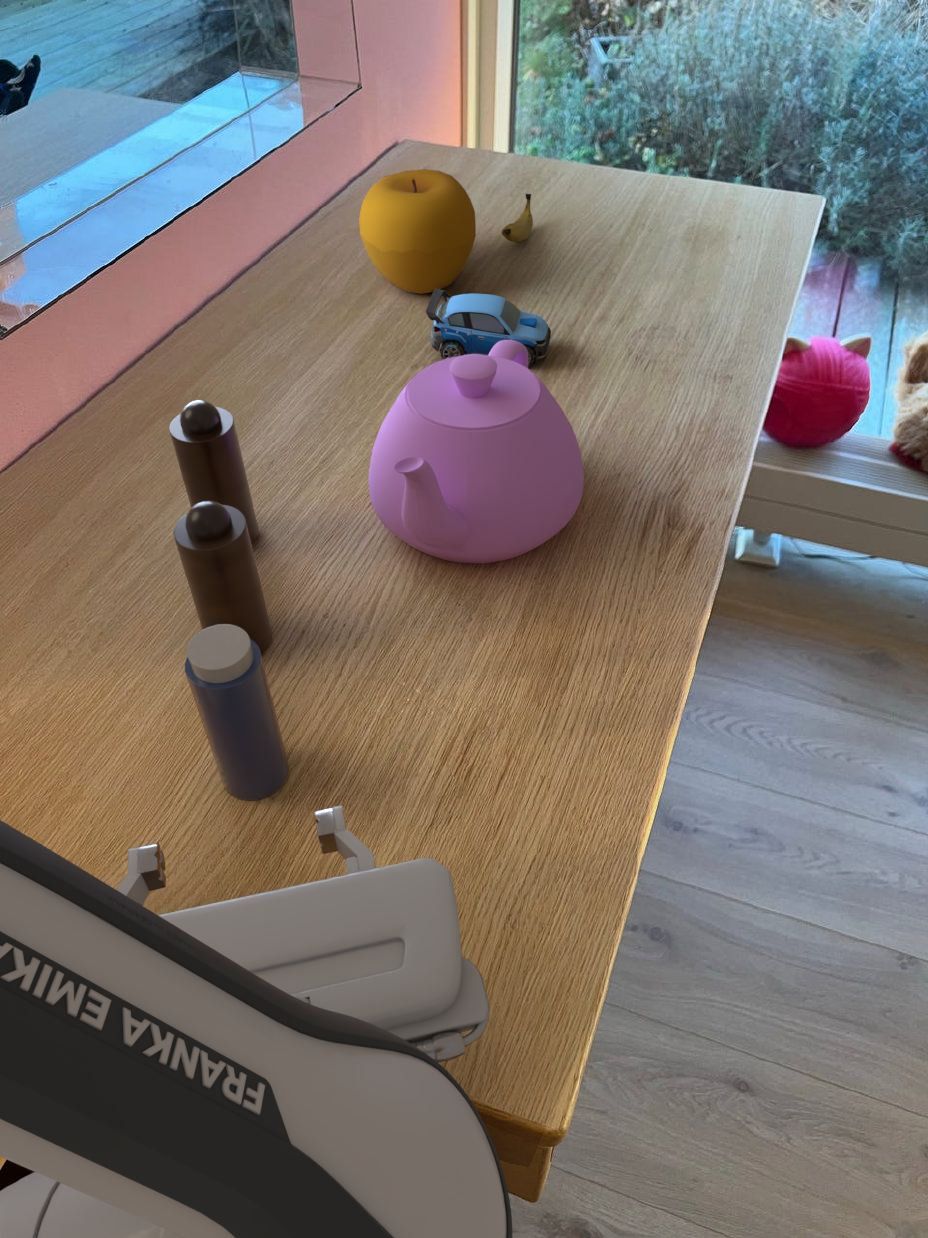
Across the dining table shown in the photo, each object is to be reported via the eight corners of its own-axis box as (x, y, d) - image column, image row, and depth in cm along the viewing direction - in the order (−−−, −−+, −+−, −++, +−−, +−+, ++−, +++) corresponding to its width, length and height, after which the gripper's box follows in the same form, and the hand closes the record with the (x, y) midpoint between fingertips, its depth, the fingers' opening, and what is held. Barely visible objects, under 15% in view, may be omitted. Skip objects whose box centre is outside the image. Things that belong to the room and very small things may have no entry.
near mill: (194, 651, 74) (151, 516, 65) (233, 610, 77) (197, 475, 68) (247, 672, 72) (211, 537, 63) (285, 629, 75) (255, 494, 66)
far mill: (188, 544, 82) (149, 412, 73) (223, 510, 85) (190, 379, 76) (236, 561, 81) (202, 428, 72) (270, 526, 84) (241, 394, 75)
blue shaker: (208, 785, 65) (163, 659, 57) (248, 737, 68) (211, 610, 59) (264, 810, 64) (226, 685, 55) (302, 760, 67) (272, 633, 58)
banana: (517, 262, 116) (517, 228, 113) (497, 260, 117) (497, 226, 114) (538, 225, 123) (539, 192, 120) (519, 223, 124) (519, 191, 121)
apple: (345, 295, 112) (332, 192, 104) (396, 246, 120) (389, 147, 112) (450, 316, 108) (445, 210, 100) (496, 264, 116) (495, 162, 108)
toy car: (545, 371, 100) (547, 319, 95) (427, 363, 101) (424, 311, 97) (551, 341, 104) (553, 289, 100) (438, 334, 105) (435, 283, 101)
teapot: (429, 415, 95) (421, 278, 85) (612, 450, 90) (625, 309, 80) (310, 587, 78) (283, 443, 69) (526, 641, 74) (530, 494, 64)
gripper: (499, 1016, 42) (432, 756, 51) (-12, 1140, 39) (17, 839, 48) (500, 1074, 46) (438, 825, 56) (41, 1188, 43) (58, 905, 53)
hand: (239, 832), depth 52 cm, fingers open, 8 cm apart
